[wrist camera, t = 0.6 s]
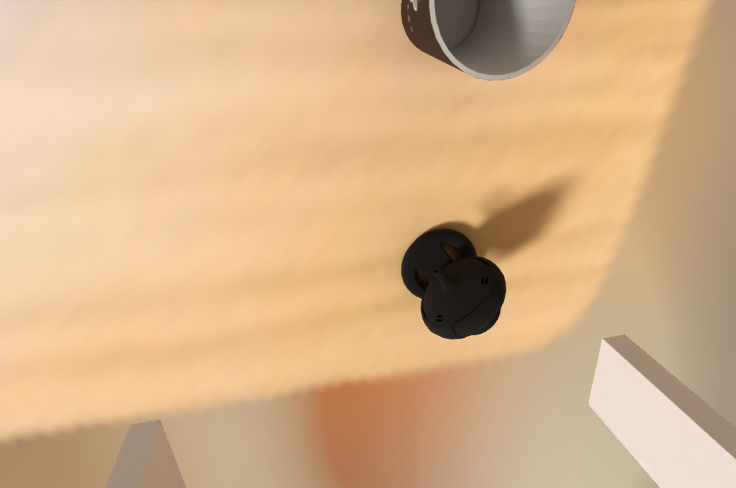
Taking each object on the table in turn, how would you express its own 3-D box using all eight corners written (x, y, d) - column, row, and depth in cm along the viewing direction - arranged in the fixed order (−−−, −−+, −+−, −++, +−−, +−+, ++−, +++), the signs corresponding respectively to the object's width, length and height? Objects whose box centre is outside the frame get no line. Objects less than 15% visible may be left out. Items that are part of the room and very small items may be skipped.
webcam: (429, 309, 44) (468, 377, 35) (383, 266, 40) (412, 328, 31) (488, 260, 42) (544, 317, 33) (445, 211, 39) (494, 259, 30)
